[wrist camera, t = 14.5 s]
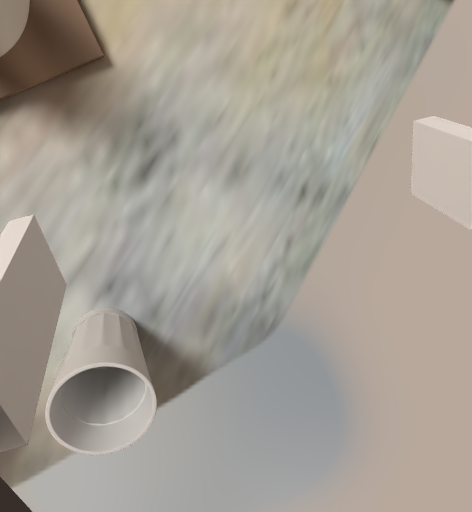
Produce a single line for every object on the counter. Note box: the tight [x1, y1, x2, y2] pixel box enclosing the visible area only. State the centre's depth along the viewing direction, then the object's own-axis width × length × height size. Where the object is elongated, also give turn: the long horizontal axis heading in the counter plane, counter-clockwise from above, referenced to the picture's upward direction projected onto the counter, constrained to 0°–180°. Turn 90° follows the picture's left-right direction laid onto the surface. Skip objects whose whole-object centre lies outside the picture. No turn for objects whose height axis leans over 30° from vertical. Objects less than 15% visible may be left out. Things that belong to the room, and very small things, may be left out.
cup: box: [45, 308, 157, 455], centre depth 38 cm, size 8×8×12 cm
